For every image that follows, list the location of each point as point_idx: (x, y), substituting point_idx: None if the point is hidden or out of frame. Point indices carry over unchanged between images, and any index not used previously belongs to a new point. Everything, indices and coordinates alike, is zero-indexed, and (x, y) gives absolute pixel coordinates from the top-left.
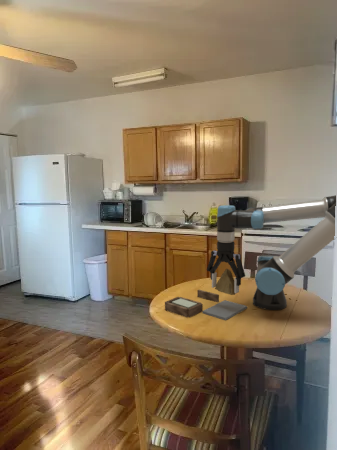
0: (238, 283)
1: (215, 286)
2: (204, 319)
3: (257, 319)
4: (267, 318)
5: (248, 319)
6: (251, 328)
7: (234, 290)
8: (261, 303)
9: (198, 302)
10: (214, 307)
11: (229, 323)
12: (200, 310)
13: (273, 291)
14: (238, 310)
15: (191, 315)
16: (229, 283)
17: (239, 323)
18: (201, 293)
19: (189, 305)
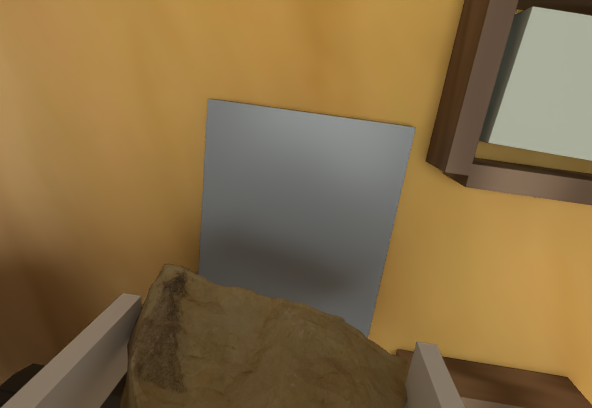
0: (8, 391)
1: (407, 383)
2: (347, 28)
3: (72, 222)
4: (40, 263)
5: (111, 195)
6: (27, 75)
7: (122, 312)
8: (115, 396)
9: (490, 180)
10: (363, 235)
11: (170, 67)
12: (436, 136)
13: None
14: (202, 266)
15: (465, 12)
16: (172, 391)
17: (120, 106)
18: (551, 397)
19: (541, 57)
